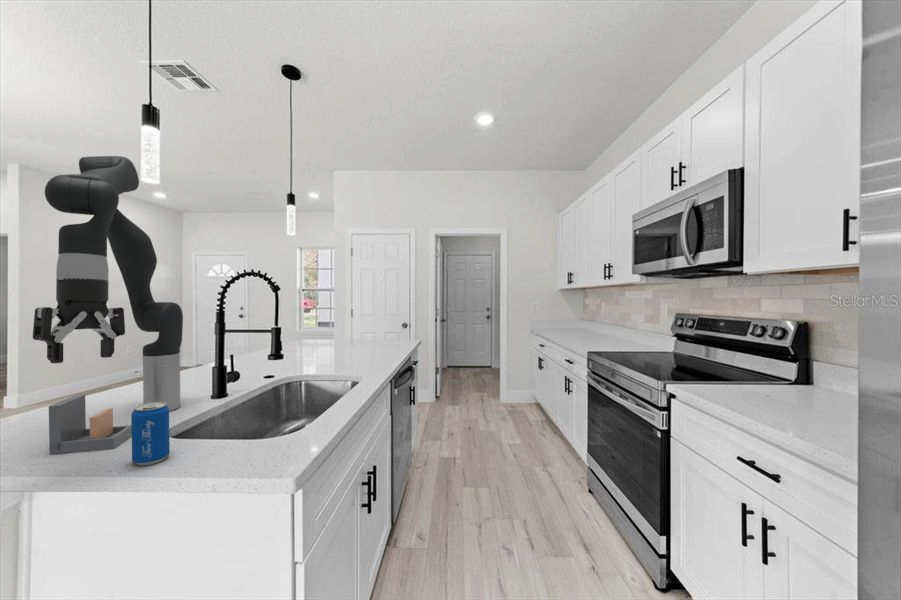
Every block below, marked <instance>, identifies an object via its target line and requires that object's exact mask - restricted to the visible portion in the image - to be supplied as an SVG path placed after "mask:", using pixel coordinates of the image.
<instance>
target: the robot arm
mask: <svg viewBox="0 0 901 600" xmlns="http://www.w3.org/2000/svg"><path fill="white" fill-rule="evenodd" d="M78 167H79V172H80V173H78V174H74V173H73V174H70V173H69V174H68V173H67V174H59V175H55V176H53V177H51V178H50V179H49V180H48V181H47V183H46V184H45V187H44V196H45V200H46V201H47V203H48V204H49V205H50V206H51V207H52V208H53V209H55V210H57V211H59V212H60V213H65V214H73V215H74V214H75V215H76V214H77V215H87V216H92V218H90V219H89V220H87V221H86V222H81V223H73V224H65V225H62V226H60V228H59V230H58V256H57V257H58V258H57V262H56V267H55V268H56V274H55V275H56V276H55V277H56V281H55V282H56V285H55V287H56V290H55V291H56V292H55V294H56V295H55V300H56V302H57V306H56V307H55V308H53V307H49V306H47V307H46V306H42V307H36V308H35V309H34V315H33V316H34V317H33V318H34V320H33V328H32V329H33V330H32V339H33V340H34V341H39V342H40V341H41V342H45V344H46V348H47V349H46V358H47V360H48V361H50V362H49V363H50V364H61V363H63V362H64V342H62V341H64V339H65V338H66V337H67V336H68V335H69V334H70V333H72V332H73V331H75V330H93V331H94V332H95V333H97V334H98V336H99V337H100V338H101V339H100V358H104V359H105V358H106V359H107V358H112V357H113V355H114V353H115V341H116V340H115V339H116V338H118V337H120V336H124V335H125V334H126V325H125V308H123V307H110V308H108V306H107V303H108V301H109V272H110V271H109V264H108V243H109V246H110V249H111V251H112V255H113V256H114V259H115V262H116V264H117V267H118V269H119V272H120V274H121V278H122V280H123V282H124V285H125V288H126V292H127V296H128V299H129V305H130V307H131V312H132V317H133V319H134V322H135V324H136V326H137V328H139V329H140V330H141V331H142V332H147V333H158V335H157V339H156V340H155V341H154V342H151V343H148V344H145V345H143V347H142V392H143V393H142V396H143V397H142V398H143V401H142V402H143V403H142V404H146V403H153V402H165V403H166V406H167V407H168V408H169V412H171V411H174V410H177V409H180V408H181V359H180V357H181V354H180V353H181V352H180V351H181V346H182V343H183V328H184V327H183V326H184V315H183V309H182V308H181V306H180V305H179V304H178V303H176V302H172V301H171V302H170V301H169V302H168V301H166V302H165V301H162V302H161V301H160V302H159V301H158V302H157V301H155V300H154V298H153V294H152V291H151V281H152V278H153V276H154V273H155V271H156V268H157V263H158V259H157V258H158V257H157V254H156V251H155V248H154V245H153V241H152V240H151V237H150V236H149V235H148V234H147V233H146V232H145V231H144V230H143V229H141V227H139V226H138V225H137V224H136V223H134V222H133V221H132V220H131V219H130V218H128V217H127V216H126V215H124V214H123V213H122V212H121V211H120V210H119V209H118V206H119V202H120V200H119V199H120V196H119V195H122V194H123V193H130V192H134V191H136V190H137V189H138V188H139V185H140V179H139V176H138V172H137V171H138V170H137V169H136V167H135V165H134V163H133V162H132V161H131V160H130V159H129V158H127V157H125V156H119V155H105V156H104V155H101V156H82V157H81V158H80V159H79V161H78ZM55 317H57V318H58V319H59V320H58V321H57V322H56V324H55V325H54V326H53V327H52V325H53V319H55ZM106 317H108V318H109V322H108V321H107V320H106Z"/></svg>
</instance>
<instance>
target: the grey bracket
mask: <svg viewBox="0 0 901 600" xmlns="http://www.w3.org/2000/svg"><path fill="white" fill-rule="evenodd" d="M86 413H87V412H86V395H85V394H77V395H76V394H75V395H73V396H71V397H67V398H66V399H63V400H61V401H58V402H56V403H53V404H51V405H48V436H49V437H48V438H49V439H48V440H49V444H48V445H49V455H50V454H53V455H57V454H56V453H64V454H70V453H69V452H74V453H82V452H81V451H85V452H92V451H91V450H96V451H105V450H104V449H107V450H114V449H116V448H118V447H119V446H120V445H122V444H123V443H124V442H125V441H127V440H129V439H130V438H132V426H131V424H130V425H129V424H128V425H117V426H116V425H115V426H114V425H113V433H112V434H110V435H109V436H107V437H105V438H98V439H90V427H89V428H88V427H87V423H86V419H87V417H86V415H87V414H86ZM86 427H87V428H86Z"/></svg>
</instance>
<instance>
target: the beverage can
mask: <svg viewBox="0 0 901 600" xmlns="http://www.w3.org/2000/svg"><path fill="white" fill-rule="evenodd" d="M130 416H131V417H130V418H131V424H130V425H131V426H132V436H131V462H132V463H134V464H136V465H137V466H150V465H154V464H157V463H160V462H162V461H164V460H165V459H166V457H168V456H170V447H171V446H170V411H169V408H168V407H167V406H166V403H165V402H153V403H146V404H143V403H141V404H139V405H136V406H134V408H133V411H132V412H131V415H130Z"/></svg>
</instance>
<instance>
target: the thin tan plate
mask: <svg viewBox="0 0 901 600" xmlns="http://www.w3.org/2000/svg"><path fill="white" fill-rule="evenodd" d="M113 411H114V410H113V407H111V408H109V407H108V408H105V409H103V410H101V411H99V412H98V413H95V414H93V415H92V416H90V417H89V428H90V439H98V438H105V437H107V436H109V435H110V434H112V433H113V427H114V416H113V415H114V412H113Z"/></svg>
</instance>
